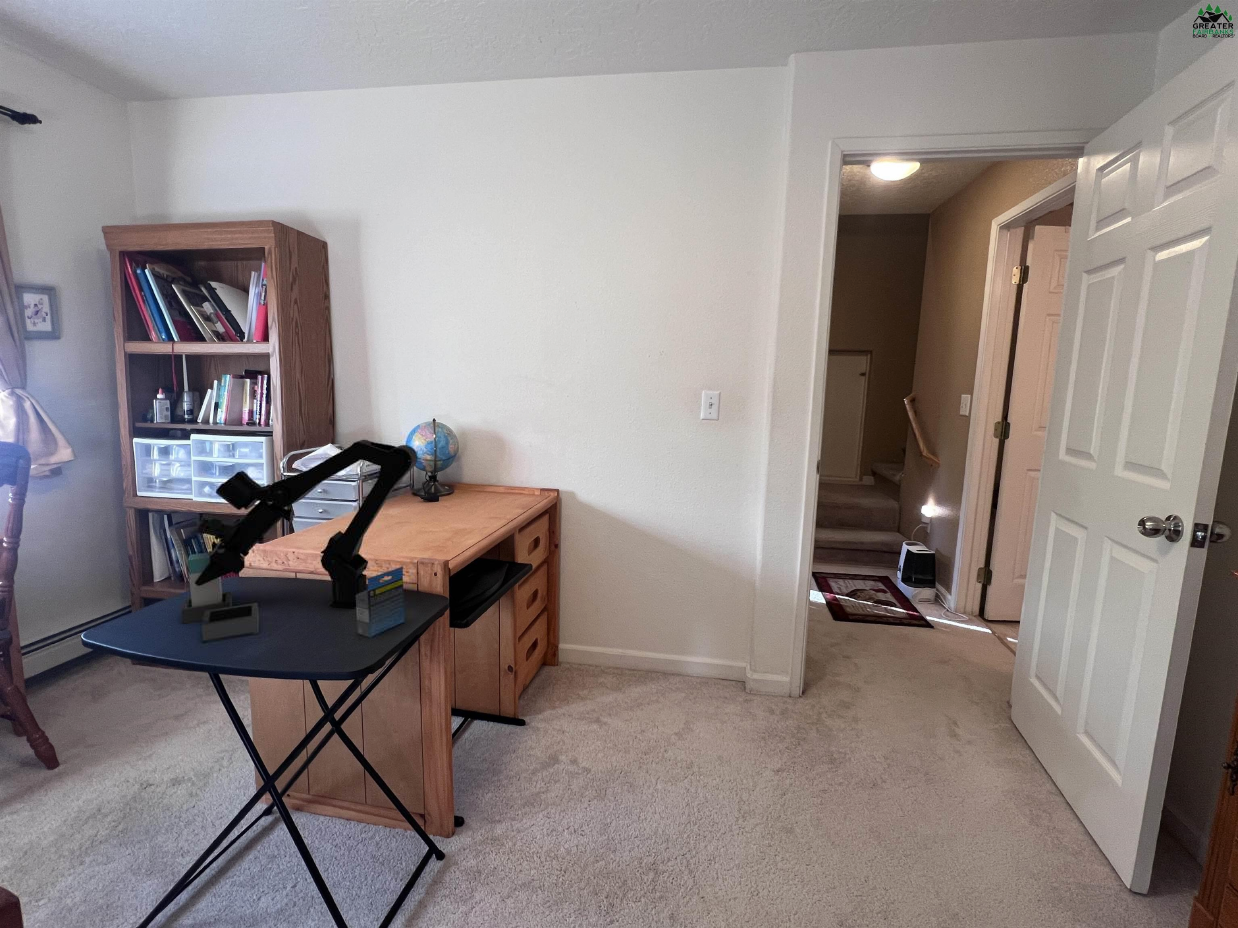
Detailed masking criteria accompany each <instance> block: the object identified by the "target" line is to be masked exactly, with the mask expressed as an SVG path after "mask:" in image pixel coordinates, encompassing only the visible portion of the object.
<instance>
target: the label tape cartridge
mask: <svg viewBox="0 0 1238 928" xmlns="http://www.w3.org/2000/svg"><path fill="white" fill-rule="evenodd" d="M403 571H404V566H400V567H397V568H394V569H391V570H388V571H386V572H382V573H379V574H377V575H374V576H371V577H368V578H367V591H364V592H362V593H359V594H357V595H356V608H355V609H356V628H357V633H356V634H358V635H360V636H364V637H366V638H372V637H374V636H377V635H379V634H381V633H383V632H385V631H387V630H389V629H391V628H393V627H396V626H398V625H400V624H403V623H405V621H406V620H405V619H406V618H405V617H406V616H405V598H404V597H405V596H404V595H405V594H404V593H405V592H404V575H403V574H404V572H403ZM385 577H387V578H388V579H385ZM389 577H390V578H389ZM383 579H385V580H383ZM381 580H383V581H381Z"/></svg>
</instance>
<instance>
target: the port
mask: <svg viewBox="0 0 1238 928" xmlns="http://www.w3.org/2000/svg"><path fill="white" fill-rule="evenodd" d="M259 616H260V615H259V605H258V602H254V603H247V604H240V605H235V606H234V605H232V607H226V608H220V609H213V610H207V611H205V612H204V617H203V621H201V622H202V623H201V636H202V643H203V644H204V643H205V644H206V643H210V642H216V641H217V642H218V641H222V640H227V639H234V638H240V637H246V636H250V635H255V634H259V633H260V632H259V631H260V628H259V627H260V626H259V624H260V623H259V620H260V617H259Z"/></svg>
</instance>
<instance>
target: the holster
mask: <svg viewBox="0 0 1238 928" xmlns="http://www.w3.org/2000/svg"><path fill="white" fill-rule="evenodd" d="M222 599H223V602H222V603H216V604H209V605H202V606H195V607H192V601H191V596H190V597H185V599H184V602H183V604H182V608H181V616H182V624H191V623H196V622H202V621H203V617H204V612H205V611H207V610H213V609H220V608H226V607H233V600H232V591H228V592H222Z"/></svg>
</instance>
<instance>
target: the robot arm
mask: <svg viewBox="0 0 1238 928" xmlns="http://www.w3.org/2000/svg"><path fill="white" fill-rule="evenodd" d="M418 460H419V457H418V453H417V451H416V450H415V448H413V447H412V446H410V445H407V444H402V445H399V446H397V445H396V446H395V445H392V444H387V443H380V442H374V441H371V440H368V439H360V440H358V441H355V442H352V444H351V445H350V446H349V447H347V448H345V449H343V450H341V451H339V452H337V453H336V454H333V455H332V456H331V457H328V458H327V459H326V460H323V461H321V462H320V463H318V464H316V465H314V466H313V467H310V468H309V469H308V470H305V471H302V472H299V473H296V474H293V475H290V476H288V477H285V478H282V479H280V480H277V481H275V482H273V483H272V484H270V483H269V484H266V485H264V486H261V485H260V484H259V483H258V482H256V481H255V480H254V479H253V478H251V477H250V476H249V474H248V473H247V472H245V471H244V470H240V471H237V472H236V473H235V474H234V475H233V476H231V477H230V478H228V479H227V480H226V481H224V482H223V483H221V484H220V485H219V486H218V488H217V489H216V490H215V494H217V495H218V496H219V497H220V498H222V499H223V500H224V501H225V502H227V504H230V505H231V506H232V507H233V508H234V509H235V510H237V511H241V510H242V509H244V510H245V511H248V510H249V509H250V508H251V509H250V510H249V511H248V512H247V513H246V514H245V515H244V516H243V517H240V518H239V517H238V518H237V519H235V520H234V521H231V520H229V519H225V518H222V517H219V516H216V515H211V514H207V513H204V514H203V515H202V517H201V519H200V522H199V524H198V526H197V527H196V530H195V531H196V533H197V534H201V535H209V536H213V537H214V538H213V539H215V541H211V550H209V552H208V553H209V558H210V562H209V564H208V565H207V566H206V568H205V569H204V570H203V572H202V573H201V574H200V576H199V577H198V579H197V580H196V581H195V584H196V585H198V586H201V585H203V584H205V583H207V582H210V581H212V580H214V579H216V578H219V577H221V578H222V577H224V576H225V575H228V574H231V573H233V574H235V575H239V573H241V572H242V571H243V570H244V568H245V565H246V562H245V561H246V560H245V557H247V556H248V555H249V554H250V550H252V549H253V547H255V546H256V545H257V544H258V543H259V542H260V543H261V542H262V541H263V540H264V539H265V536H266V535H267V534H268V533H269V532H270V531H271V530H272V529H273V528H274V527H276V525H277V524H278V523H279V522H280V521H281V520H282V519H284V520H285V521H286V522H293V521H294V509H293V508H289V509H287V508H286V507H290V506H291V505H293V504H296V503H298V502H299V501H301V500H303V499H305V497H306V496H308V495H309V494H310V493H311V492H313V490H314V489H315V488H317V487H318V486H320V484H321V483H323V482H325V481H326V480H328V479H329V478H331V477H333V476H335V475H337V474H338V473H341V472H342V471H344V470H346V469H347V468H350V467H351V466H352V465H354V464H357V463H358V462H359V461H365V462H368V463H370V464H373V465H376V466H378V467H380V469H379V473H378V477H377V480H376V482H375V483H374V485H373V486H372V488H371V489H370V491H369V493H368V494H367V496H366V497H365V499H363V502H362V504H361V506H359V508H358V510H357V512H356V513H355V515H354V517H353V518H352V519H351V521H350V522H349V524H348V526H347V528H346V529H345V531H344V532H342V531H341V530H339V531H337V532H336V533H334V534H333V535H332V536H330V537H329V540H328V541H327V544H326V547H324V549H323V550H321V551H320V553H319V554H322V555H321V558H320V564H321V567H322V568H323V569H324V571H325V572H326V573H327V574H328V575H329V578H330V580H331V599H332V601H331V602H329V603H328V604H329V606H331V607H339V608H348V609H349V608H351V609H356V595H357V594H359V593H362V592H364V591H367V590H368V579H367V574H364V571H366V570H367V568H368V565H369V561H368V560H367V559H366V558H365V557H363V555H362V554H361V553H360V550H361V549H362V545H363V541H364V537H365V535H366V533H367V532H368V530H369V529H370V527H371V525H372V524H373V522H374V520H375V519H376V518H377V516H378V514H380V512H381V509H382V508H383V506H384V505H385V503H386V501H387V500H388V498H389V497H390V495H391V494H392V492H393V491H394V489H395V487H396V486H397V485H398V484H399V483H400V482H401V481H402V480H403V479H404V478H405V476H407V475H408V473H410V472H411V470H413V468H414V467H415V466H416V465H417V463H418ZM253 506H254V507H253ZM218 539H219V541H218V542H216V540H218Z"/></svg>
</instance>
